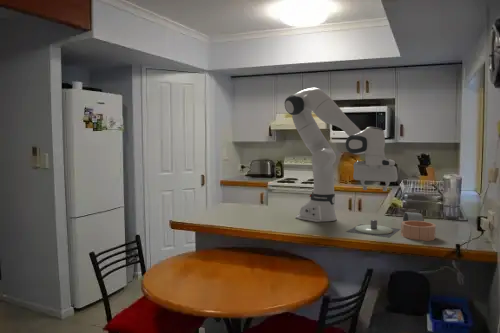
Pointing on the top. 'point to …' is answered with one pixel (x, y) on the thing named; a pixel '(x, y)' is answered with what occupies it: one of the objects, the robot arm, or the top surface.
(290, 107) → the robot arm
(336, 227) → the top surface
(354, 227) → the mat
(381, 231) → the lid
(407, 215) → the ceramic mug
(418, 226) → the bowl
